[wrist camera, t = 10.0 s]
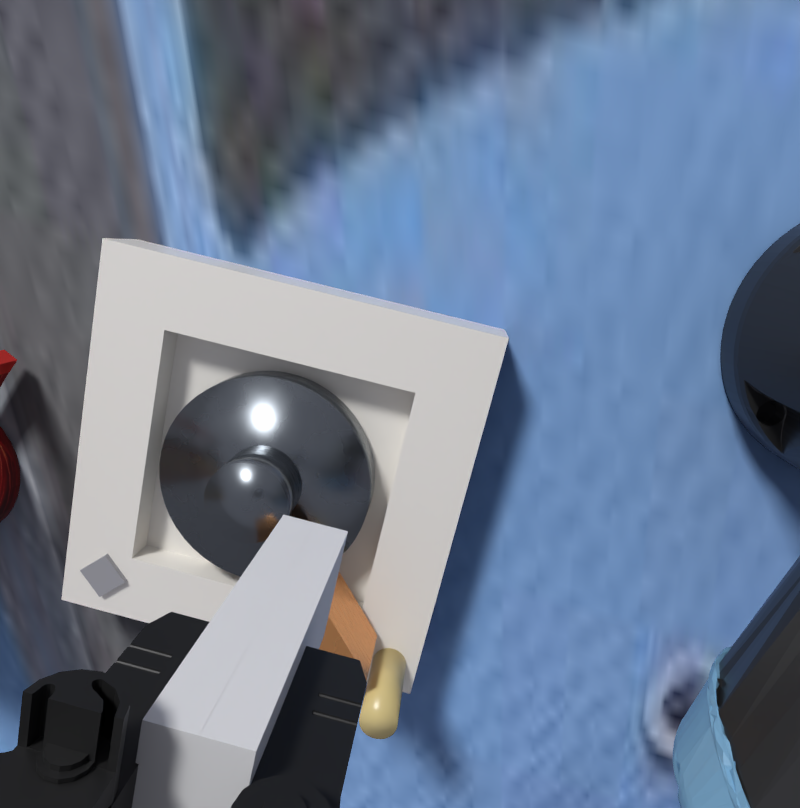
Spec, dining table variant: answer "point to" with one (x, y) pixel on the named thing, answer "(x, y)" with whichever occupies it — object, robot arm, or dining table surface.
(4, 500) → the mug
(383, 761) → the dining table surface
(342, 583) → the dial
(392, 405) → the housing
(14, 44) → the dining table surface
